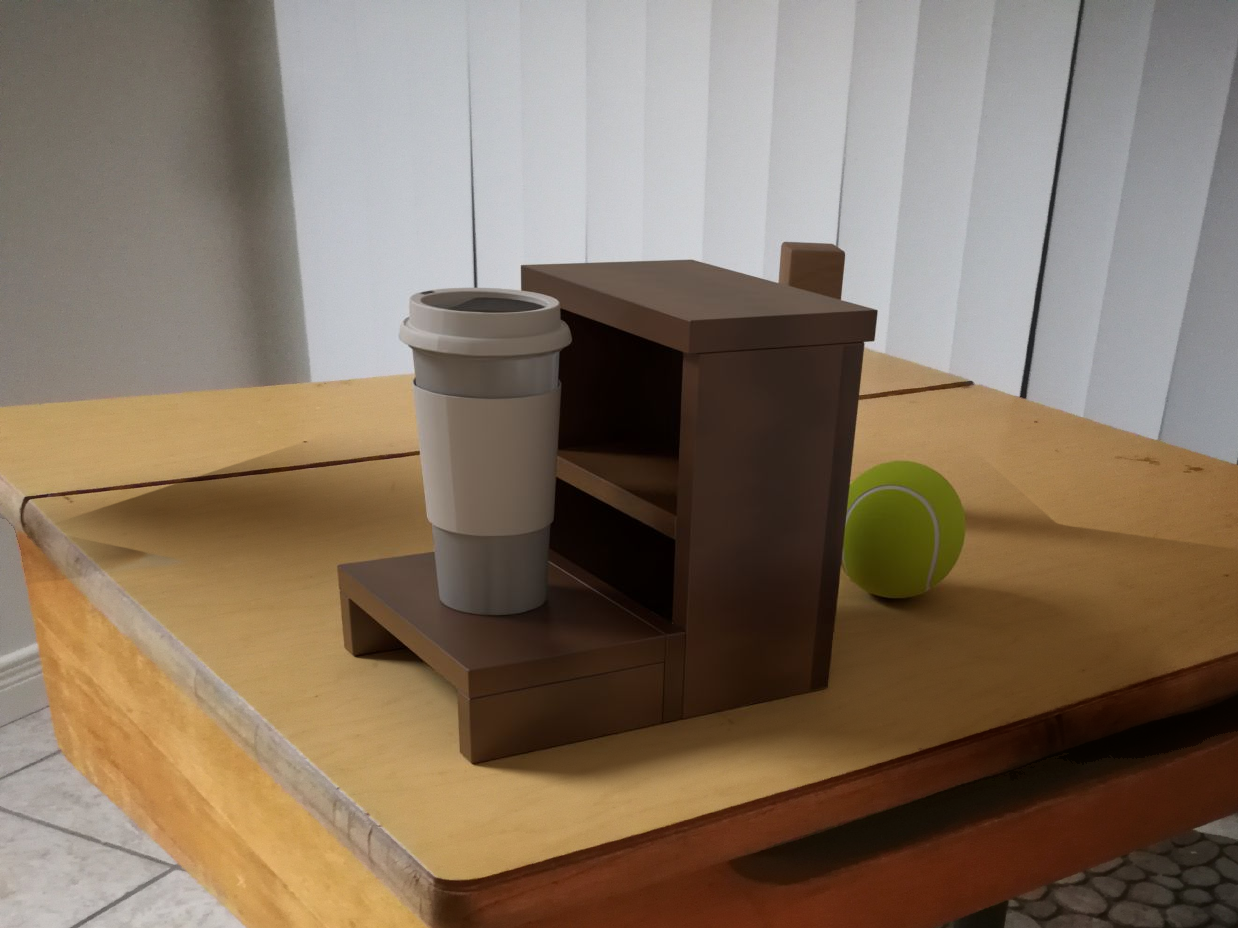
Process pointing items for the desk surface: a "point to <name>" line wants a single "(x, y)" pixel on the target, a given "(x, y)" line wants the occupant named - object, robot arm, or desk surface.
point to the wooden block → (812, 267)
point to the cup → (488, 439)
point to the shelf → (658, 514)
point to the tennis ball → (901, 529)
